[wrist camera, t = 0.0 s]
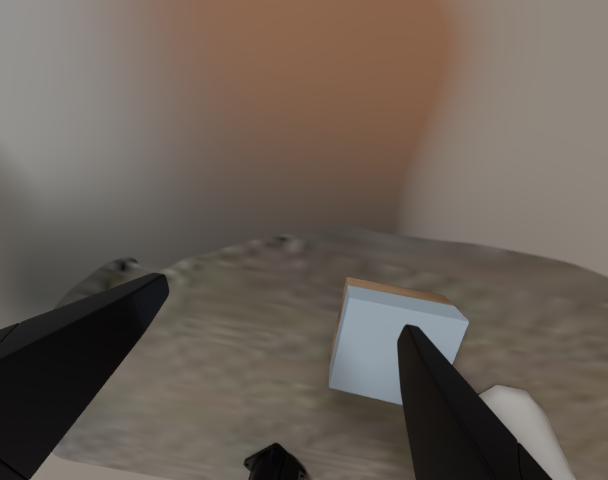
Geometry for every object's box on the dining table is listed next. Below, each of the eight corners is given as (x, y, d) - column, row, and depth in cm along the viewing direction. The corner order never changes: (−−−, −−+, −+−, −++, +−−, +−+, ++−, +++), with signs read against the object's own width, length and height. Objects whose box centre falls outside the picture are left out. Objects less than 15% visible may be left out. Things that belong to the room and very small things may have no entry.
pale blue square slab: (423, 389, 24) (433, 412, 22) (329, 367, 25) (328, 387, 23) (454, 306, 21) (469, 321, 19) (347, 285, 22) (349, 297, 20)
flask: (553, 402, 25) (693, 543, 15) (509, 444, 27) (607, 592, 17) (492, 373, 25) (593, 493, 15) (452, 417, 27) (519, 548, 17)
